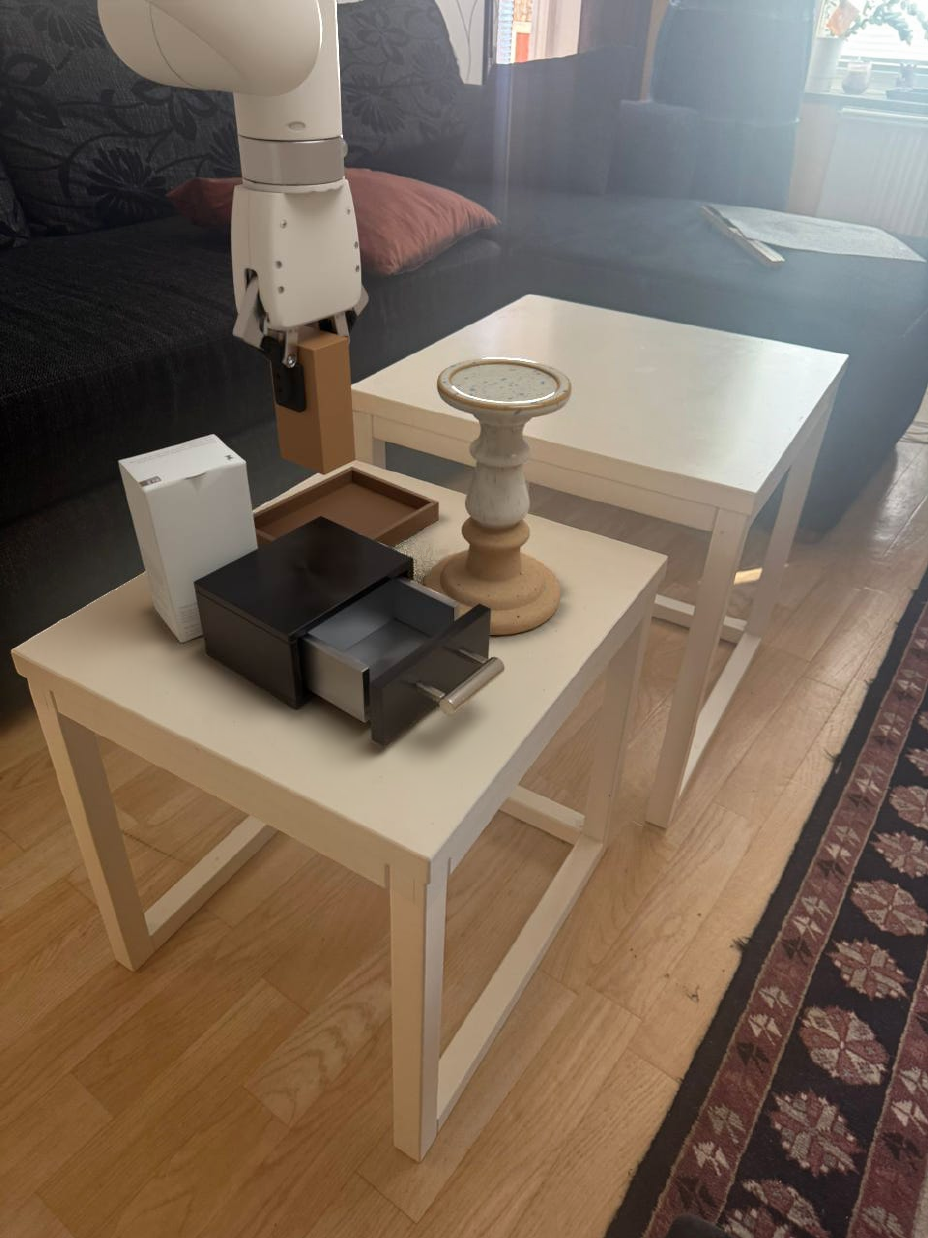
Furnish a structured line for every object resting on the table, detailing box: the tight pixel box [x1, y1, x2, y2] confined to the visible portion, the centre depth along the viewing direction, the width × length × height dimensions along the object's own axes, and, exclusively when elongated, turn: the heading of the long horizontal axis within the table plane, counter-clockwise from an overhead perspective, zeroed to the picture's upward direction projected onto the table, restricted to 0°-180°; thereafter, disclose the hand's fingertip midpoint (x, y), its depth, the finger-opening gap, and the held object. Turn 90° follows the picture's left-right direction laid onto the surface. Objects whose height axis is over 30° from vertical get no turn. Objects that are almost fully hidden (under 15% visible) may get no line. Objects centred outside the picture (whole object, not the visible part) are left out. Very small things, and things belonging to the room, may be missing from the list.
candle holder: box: [423, 357, 573, 636], centre depth 73 cm, size 12×12×20 cm
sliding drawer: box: [297, 575, 505, 748], centre depth 65 cm, size 13×12×5 cm
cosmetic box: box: [117, 433, 258, 644], centre depth 71 cm, size 8×6×15 cm
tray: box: [253, 466, 440, 548], centre depth 86 cm, size 16×12×2 cm
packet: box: [269, 325, 357, 476], centre depth 75 cm, size 4×6×11 cm
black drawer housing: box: [194, 516, 415, 711], centre depth 70 cm, size 11×14×7 cm
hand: (311, 397), depth 75 cm, fingers closed on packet, 4 cm apart
